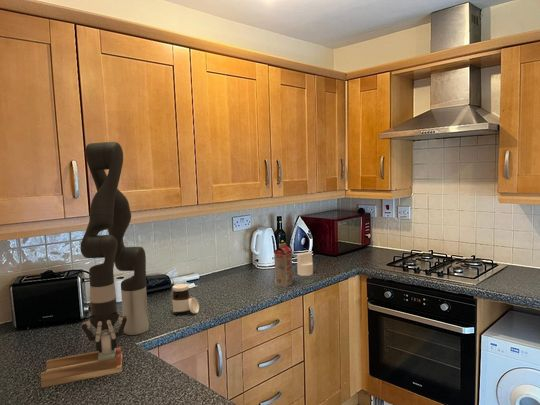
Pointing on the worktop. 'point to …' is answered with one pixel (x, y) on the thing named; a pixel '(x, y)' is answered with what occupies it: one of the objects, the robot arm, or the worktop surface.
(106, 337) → the slider
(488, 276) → the worktop surface
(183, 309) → the spread jar
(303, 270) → the cylinder with rectangular tab
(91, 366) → the track
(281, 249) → the juice carton
